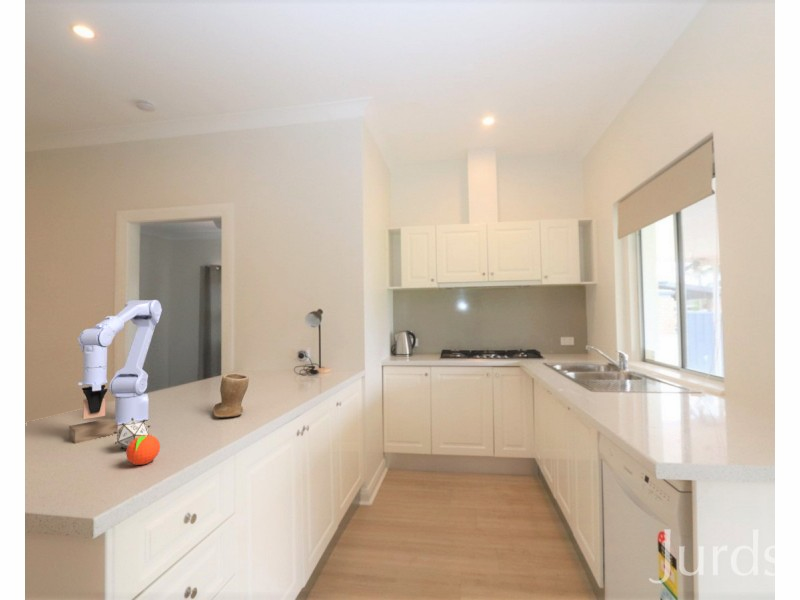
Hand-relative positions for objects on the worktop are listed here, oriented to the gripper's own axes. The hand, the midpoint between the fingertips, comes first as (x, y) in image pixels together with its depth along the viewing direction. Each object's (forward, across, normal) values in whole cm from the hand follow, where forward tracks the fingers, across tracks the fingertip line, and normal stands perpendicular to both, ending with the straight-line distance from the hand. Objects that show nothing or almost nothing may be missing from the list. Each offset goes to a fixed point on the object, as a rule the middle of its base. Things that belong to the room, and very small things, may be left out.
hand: (94, 411), depth 112 cm
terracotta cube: (+2, 0, 0) cm, 2 cm away
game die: (+8, +22, +7) cm, 24 cm away
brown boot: (+8, +5, +39) cm, 40 cm away
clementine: (+8, +37, +7) cm, 38 cm away
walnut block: (+8, 0, 0) cm, 8 cm away
